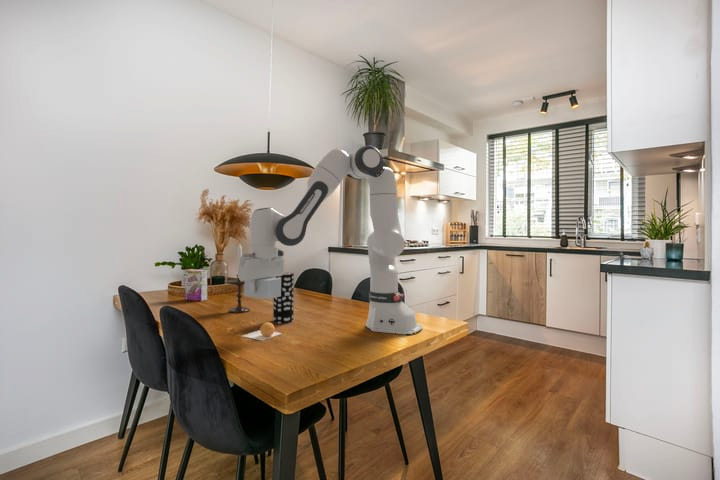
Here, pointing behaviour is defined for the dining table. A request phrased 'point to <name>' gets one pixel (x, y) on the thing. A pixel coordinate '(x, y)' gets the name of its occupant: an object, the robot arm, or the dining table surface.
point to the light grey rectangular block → (264, 288)
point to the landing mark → (260, 335)
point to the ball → (267, 329)
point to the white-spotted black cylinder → (284, 300)
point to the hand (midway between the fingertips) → (262, 290)
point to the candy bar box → (195, 285)
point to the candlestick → (239, 283)
